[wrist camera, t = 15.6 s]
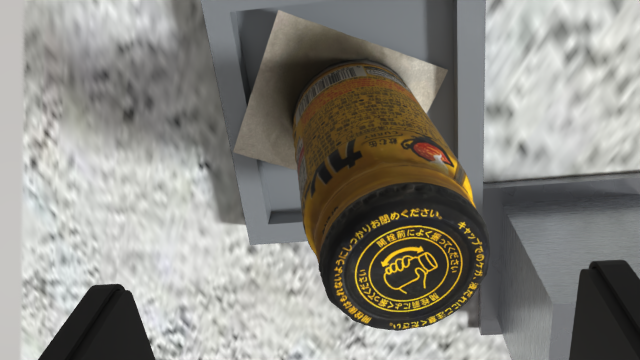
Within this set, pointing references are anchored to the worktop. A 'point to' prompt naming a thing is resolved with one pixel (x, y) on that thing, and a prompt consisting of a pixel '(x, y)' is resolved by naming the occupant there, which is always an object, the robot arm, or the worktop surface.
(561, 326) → the block
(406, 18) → the tray
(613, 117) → the worktop surface
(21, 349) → the worktop surface
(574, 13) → the worktop surface
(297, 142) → the condiment
